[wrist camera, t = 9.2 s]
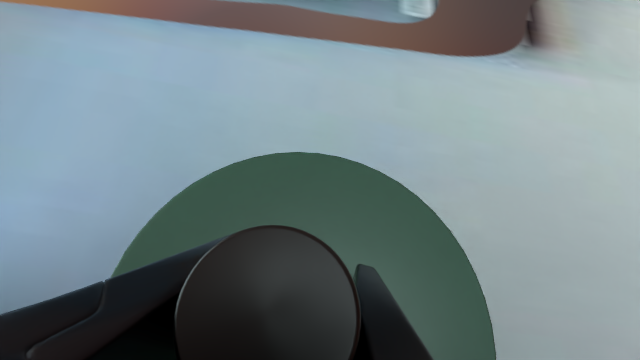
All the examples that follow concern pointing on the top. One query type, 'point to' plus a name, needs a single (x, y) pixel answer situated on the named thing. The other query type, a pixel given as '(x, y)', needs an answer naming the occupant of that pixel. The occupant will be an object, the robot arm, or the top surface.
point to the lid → (309, 262)
